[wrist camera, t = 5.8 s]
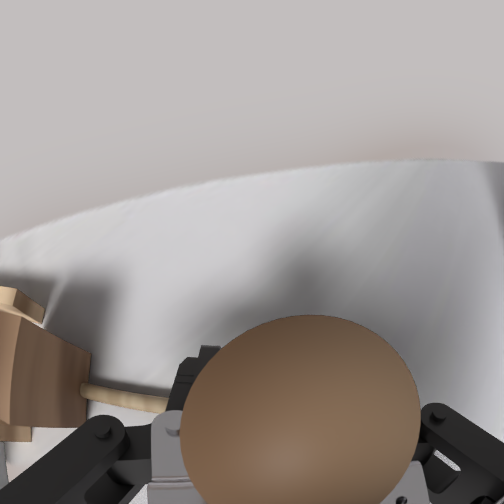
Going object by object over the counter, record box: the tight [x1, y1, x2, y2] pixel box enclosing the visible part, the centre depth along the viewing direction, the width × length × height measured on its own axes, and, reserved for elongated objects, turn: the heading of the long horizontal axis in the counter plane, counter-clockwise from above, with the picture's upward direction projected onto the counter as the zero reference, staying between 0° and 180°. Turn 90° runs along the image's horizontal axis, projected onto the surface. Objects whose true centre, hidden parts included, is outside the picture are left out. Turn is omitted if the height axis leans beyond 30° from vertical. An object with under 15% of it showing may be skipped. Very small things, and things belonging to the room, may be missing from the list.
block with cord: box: [0, 311, 421, 504], centre depth 8 cm, size 17×5×12 cm, turn 90°
